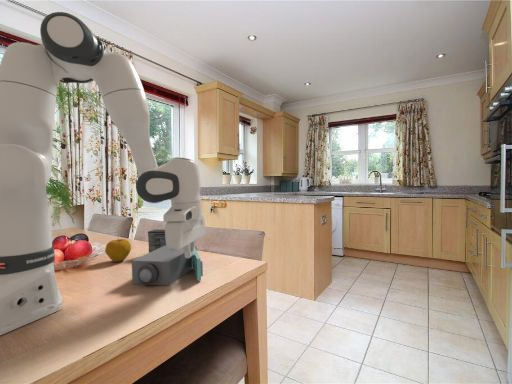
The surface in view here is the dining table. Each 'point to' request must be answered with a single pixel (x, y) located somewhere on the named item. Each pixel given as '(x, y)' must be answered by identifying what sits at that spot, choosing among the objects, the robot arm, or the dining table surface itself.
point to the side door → (197, 265)
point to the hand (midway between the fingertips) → (189, 256)
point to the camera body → (160, 267)
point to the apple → (118, 249)
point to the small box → (156, 239)
